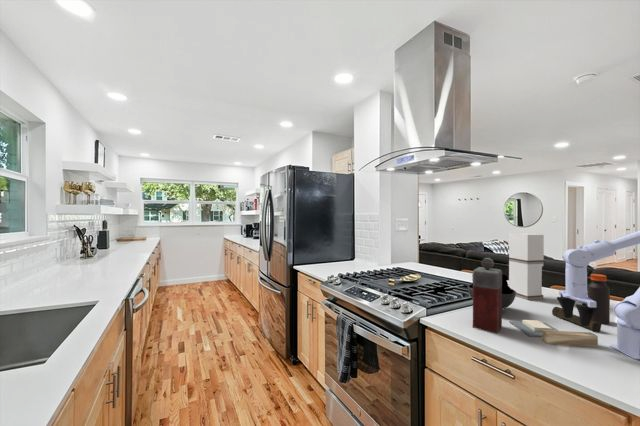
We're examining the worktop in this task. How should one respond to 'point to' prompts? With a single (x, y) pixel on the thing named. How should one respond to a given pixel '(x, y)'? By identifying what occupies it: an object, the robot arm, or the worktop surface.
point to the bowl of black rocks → (507, 292)
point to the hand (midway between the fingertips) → (576, 321)
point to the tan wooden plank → (570, 338)
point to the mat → (528, 330)
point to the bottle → (600, 298)
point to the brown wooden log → (576, 319)
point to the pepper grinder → (487, 297)
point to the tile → (535, 325)
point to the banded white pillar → (526, 265)
